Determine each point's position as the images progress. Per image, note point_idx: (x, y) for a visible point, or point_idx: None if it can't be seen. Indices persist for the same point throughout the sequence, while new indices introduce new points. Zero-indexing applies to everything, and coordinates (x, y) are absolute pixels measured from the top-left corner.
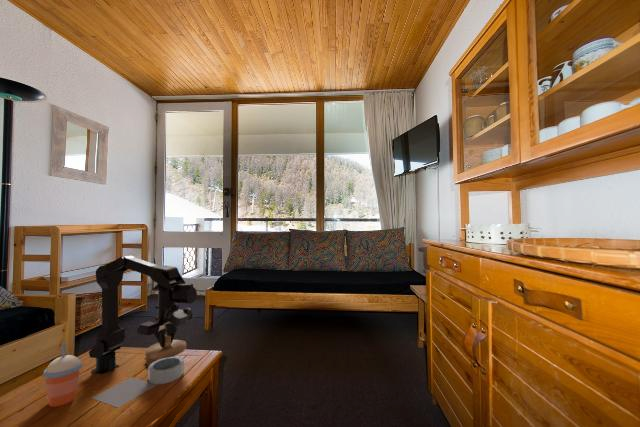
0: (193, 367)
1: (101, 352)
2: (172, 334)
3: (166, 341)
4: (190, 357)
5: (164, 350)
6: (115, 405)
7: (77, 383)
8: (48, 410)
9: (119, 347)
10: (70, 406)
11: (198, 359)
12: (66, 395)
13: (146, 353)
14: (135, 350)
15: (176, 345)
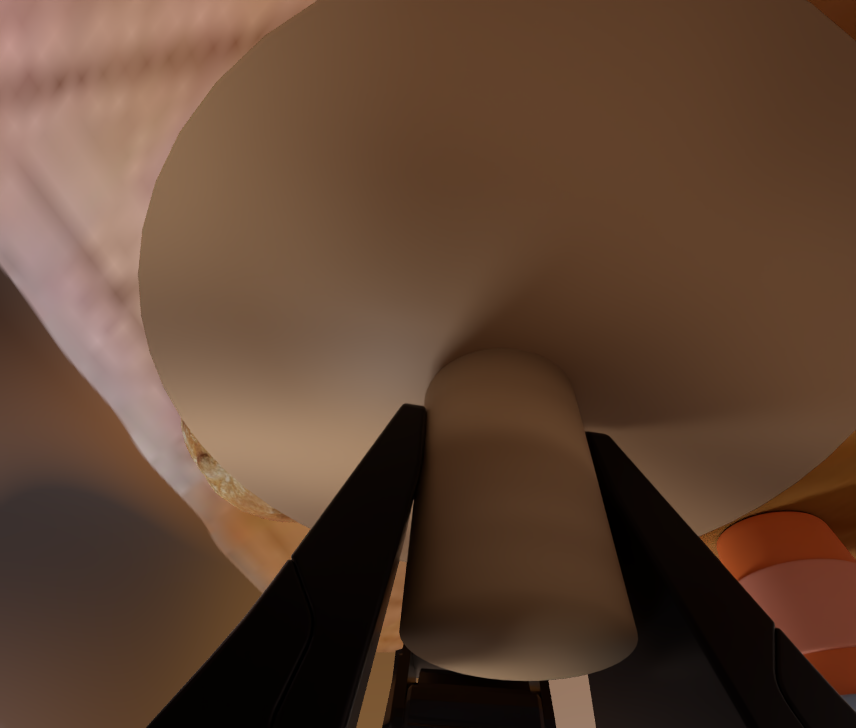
0: (236, 22)
1: (549, 690)
2: (385, 595)
3: (597, 499)
4: (117, 230)
5: (659, 356)
6: None
7: (798, 588)
8: (844, 534)
9: (410, 652)
10: (836, 489)
11: (82, 107)
12: (845, 556)
13: (736, 514)
14: (268, 566)
15: (386, 286)
